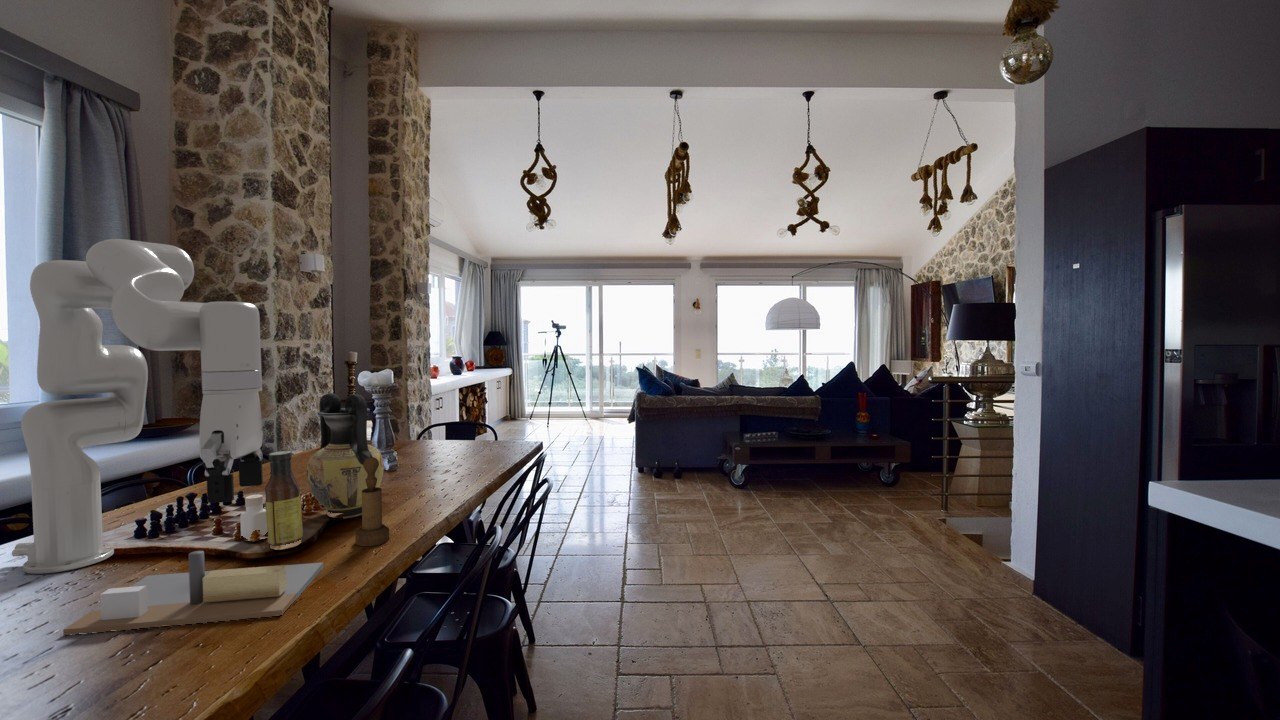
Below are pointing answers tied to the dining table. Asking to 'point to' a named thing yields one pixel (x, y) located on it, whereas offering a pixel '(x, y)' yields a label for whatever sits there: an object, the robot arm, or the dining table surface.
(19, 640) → the dining table surface
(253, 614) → the plate
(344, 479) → the amphora
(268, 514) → the sauce bottle
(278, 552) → the dining table surface
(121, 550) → the dining table surface
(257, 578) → the bar
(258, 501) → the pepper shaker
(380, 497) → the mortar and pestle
